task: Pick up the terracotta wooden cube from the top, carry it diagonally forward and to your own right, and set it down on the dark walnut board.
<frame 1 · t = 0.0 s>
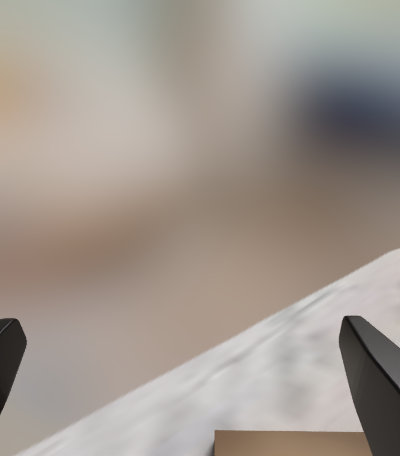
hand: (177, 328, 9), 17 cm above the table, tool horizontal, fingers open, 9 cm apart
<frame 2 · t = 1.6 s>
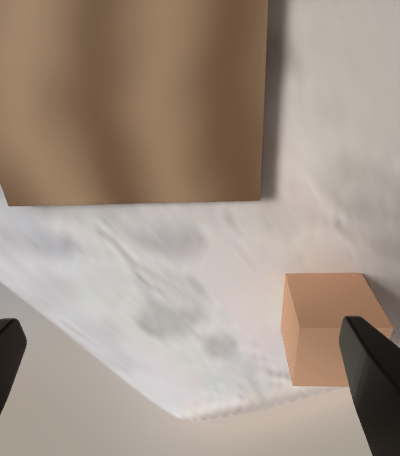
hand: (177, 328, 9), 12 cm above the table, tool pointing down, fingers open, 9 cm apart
terracotta cube: (318, 300, 24), on the table
walnut board: (113, 60, 17), on the table
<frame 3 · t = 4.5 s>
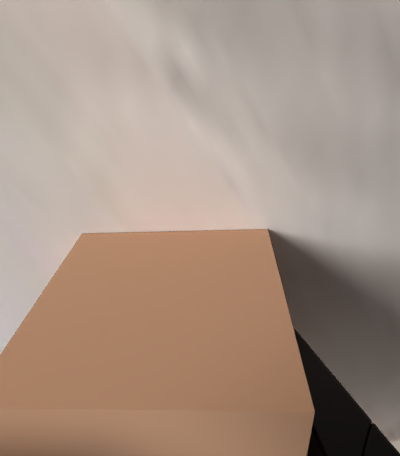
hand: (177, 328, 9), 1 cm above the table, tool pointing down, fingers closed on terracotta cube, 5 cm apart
terracotta cube: (180, 302, 10), on the table, touching gripper
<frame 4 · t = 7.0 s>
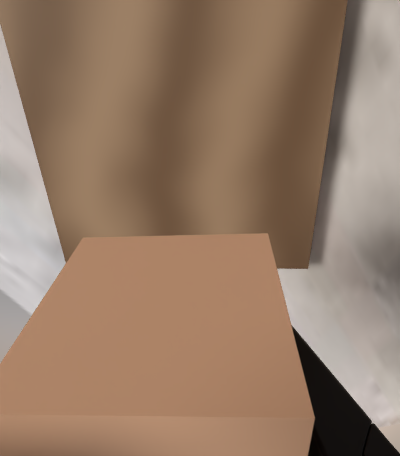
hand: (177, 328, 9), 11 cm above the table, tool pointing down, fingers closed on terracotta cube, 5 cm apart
terracotta cube: (181, 305, 10), point 10 cm above the table, touching gripper
walnut board: (178, 143, 18), on the table
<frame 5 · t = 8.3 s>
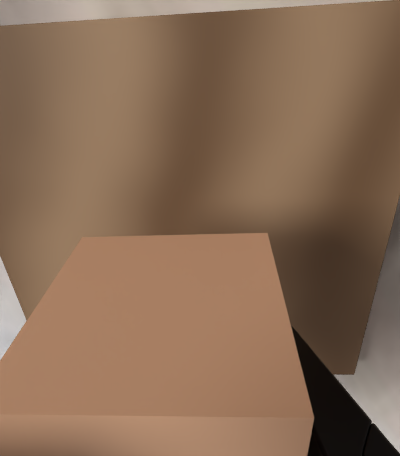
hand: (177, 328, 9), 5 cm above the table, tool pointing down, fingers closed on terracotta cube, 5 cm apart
terracotta cube: (180, 305, 10), point 4 cm above the table, touching gripper
walnut board: (187, 232, 14), on the table
when the fingers open (3 cm above the table, at t = 9.4 s): terracotta cube drops 1 cm, resting on walnut board.
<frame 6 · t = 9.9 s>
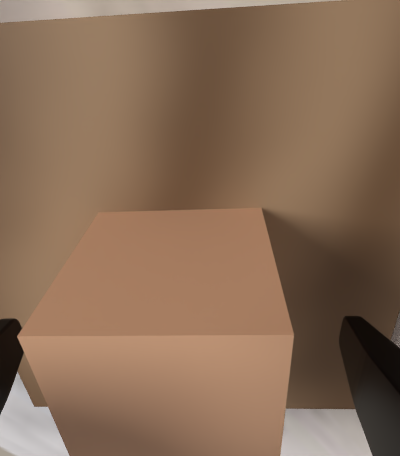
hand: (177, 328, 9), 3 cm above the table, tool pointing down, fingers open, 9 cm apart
terracotta cube: (184, 275, 12), point 1 cm above the table, touching walnut board
walnut board: (185, 256, 13), on the table
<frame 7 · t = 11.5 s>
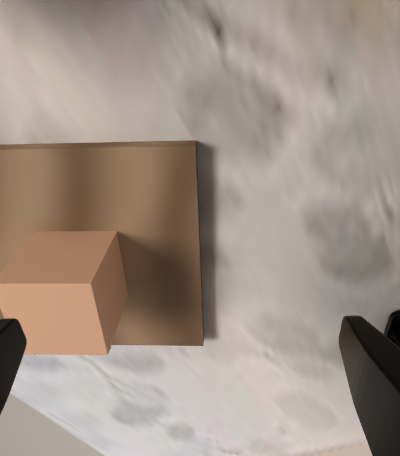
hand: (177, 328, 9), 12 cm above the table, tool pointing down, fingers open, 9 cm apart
terracotta cube: (84, 264, 22), point 1 cm above the table, touching walnut board
walnut board: (88, 254, 23), on the table
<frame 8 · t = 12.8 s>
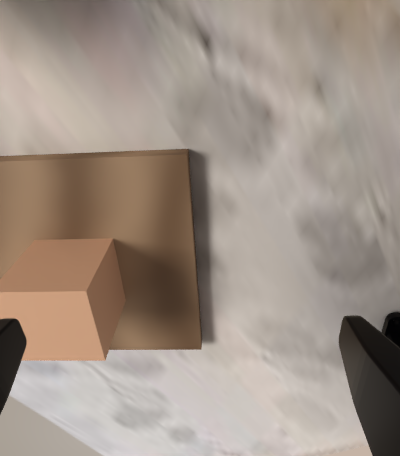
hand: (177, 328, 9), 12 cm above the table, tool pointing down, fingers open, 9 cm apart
terracotta cube: (82, 271, 23), point 1 cm above the table, touching walnut board
walnut board: (86, 261, 23), on the table
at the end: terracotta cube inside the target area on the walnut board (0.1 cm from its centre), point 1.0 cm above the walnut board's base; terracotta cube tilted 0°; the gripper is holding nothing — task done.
